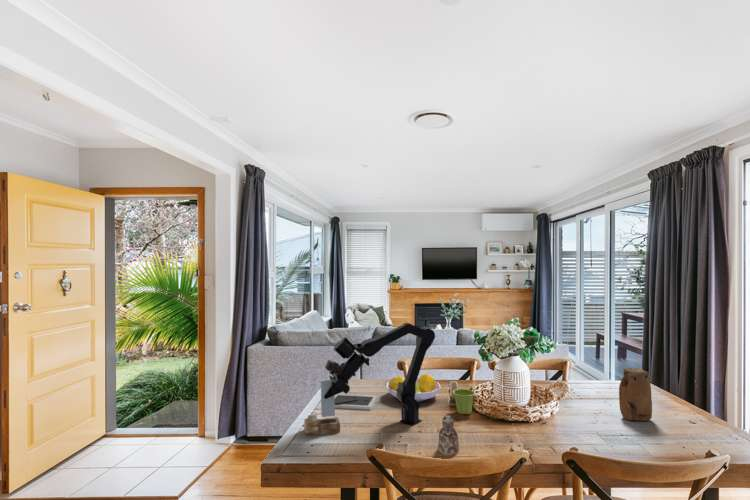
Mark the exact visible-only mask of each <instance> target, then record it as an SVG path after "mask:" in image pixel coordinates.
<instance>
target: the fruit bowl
mask: <svg viewBox="0 0 750 500" xmlns="http://www.w3.org/2000/svg"><path fill="white" fill-rule="evenodd" d="M405 378H406V377H402V376H401V375H398V376H395V377H393V378H391V379H390V380H389V381H388V382H386V389H387V391H388V392H389V394H391V395H392V396H393V397H395V398H396V399H398V397H397V391H396V390H397V388H398V384H399V382H401V383H402V382H403V381H404V380H405ZM415 387H416V393H415V400H416V401H417V402H419V403H420V402H423V401H427V400H429V399H432V398H435V396H436V395H437V394H438V392H439V391H440V390H441V388H442V387H441V385H440V383H439V382H438V381H436V380H435V379H434V377H433V376H432V375H431V374H430V373H429V374H428V373H426V374H421V376H420V377H418V378H417V381H416V384H415Z"/></svg>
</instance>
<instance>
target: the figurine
mask: <svg viewBox="0 0 750 500" xmlns="http://www.w3.org/2000/svg"><path fill="white" fill-rule="evenodd" d="M441 422H442V423H441V424H442V427H441V429H440V430H439V433H438V443H437V446H438V447H437V449H438V452H440V453H441V454H442V455H444V454H445V455H446V456H454V455H453V454H455V455H457V453H459V452H460V442H459V434H458V431H457V430H456V428H454V427H455V425H454V423H455V421H454V419H453V416H451V413H450V412H447V413H446V415H444V416H443V418H442V420H441Z"/></svg>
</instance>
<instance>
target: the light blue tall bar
mask: <svg viewBox="0 0 750 500" xmlns="http://www.w3.org/2000/svg"><path fill="white" fill-rule="evenodd" d="M332 380H333V381H334V379H330V378H327V379H320V406H321V407H320V409H321V411H320V413H321V417H322V418H328V417H335V416H336V411H335V410H336V408H335V395H334V396H332V397H329V398H327V399H325V398H324V396H325V394H326V393H327V391H328V390H329V388H330V387H331V385H332Z"/></svg>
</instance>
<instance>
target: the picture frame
mask: <svg viewBox="0 0 750 500" xmlns="http://www.w3.org/2000/svg"><path fill="white" fill-rule="evenodd" d="M377 400H378V395H365V394H364V395H363V394H362V395H361V394H348V393H347V394H345V393H339V394H336V395H335V409H345V410H360V411H363V410H364V411H372V409H373V407H374V405H375V403H376V402H377Z"/></svg>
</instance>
